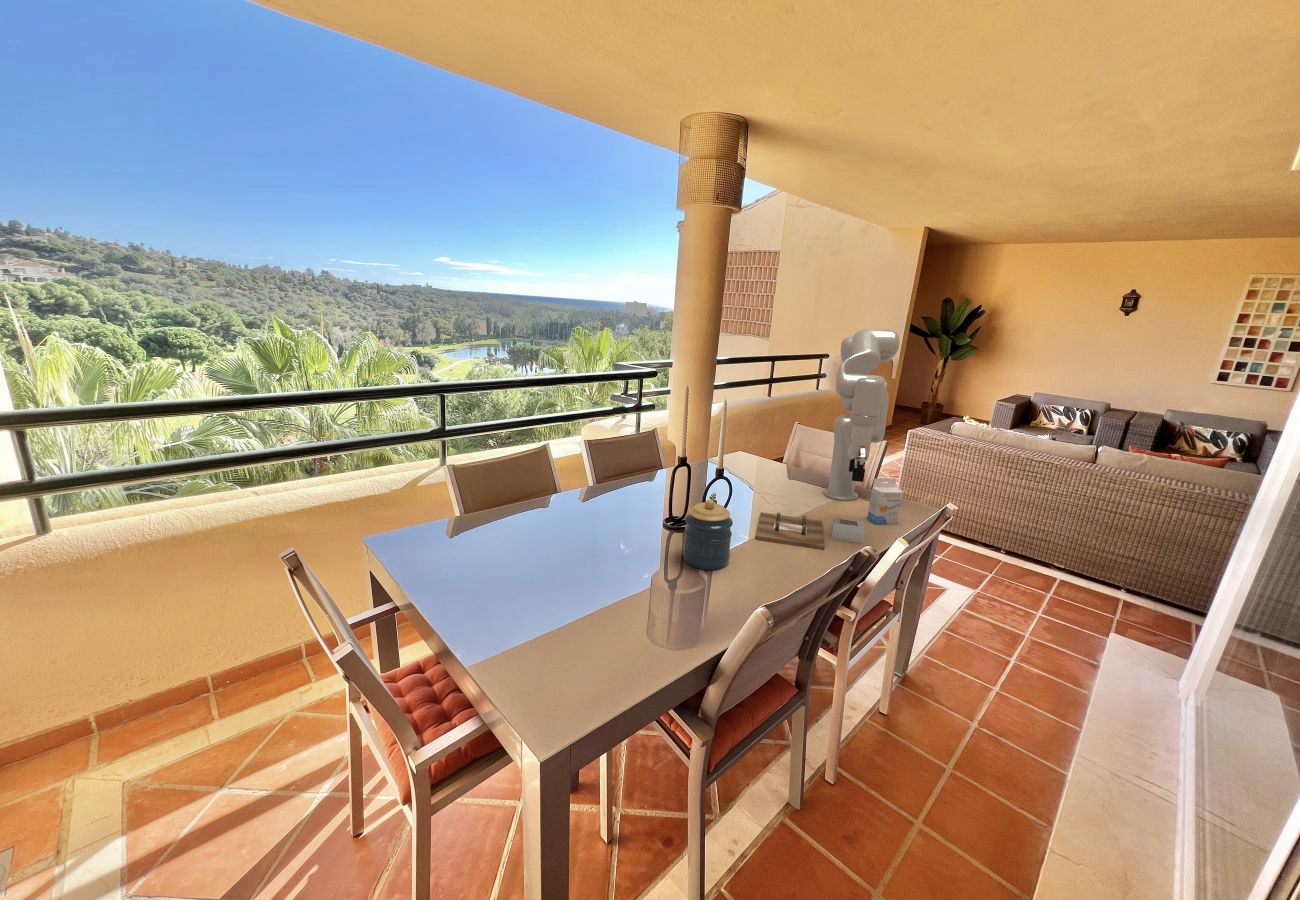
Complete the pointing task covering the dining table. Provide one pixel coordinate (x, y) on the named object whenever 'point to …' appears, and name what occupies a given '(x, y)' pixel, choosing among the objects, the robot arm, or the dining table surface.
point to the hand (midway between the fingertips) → (855, 476)
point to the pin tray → (790, 530)
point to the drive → (847, 530)
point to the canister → (707, 536)
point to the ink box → (885, 502)
